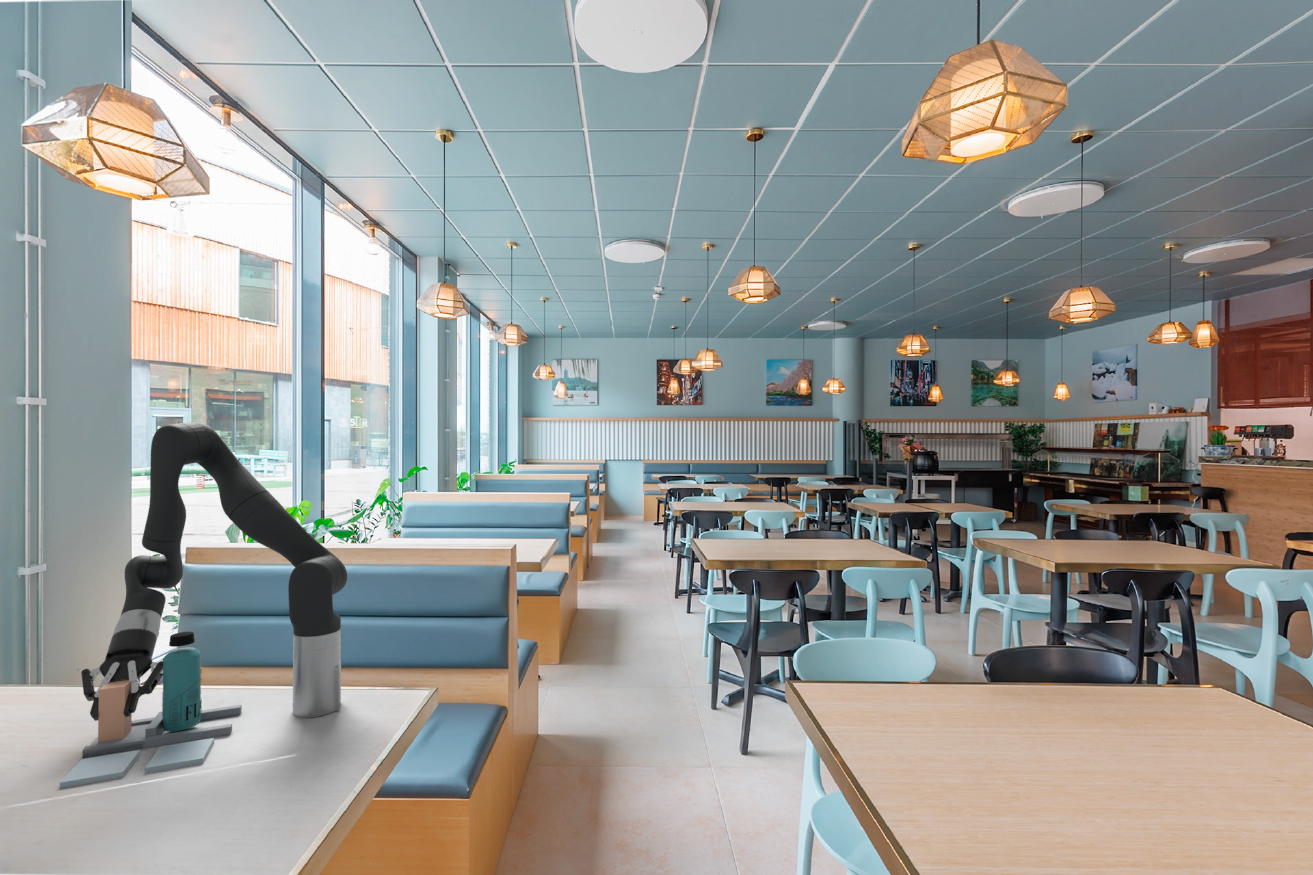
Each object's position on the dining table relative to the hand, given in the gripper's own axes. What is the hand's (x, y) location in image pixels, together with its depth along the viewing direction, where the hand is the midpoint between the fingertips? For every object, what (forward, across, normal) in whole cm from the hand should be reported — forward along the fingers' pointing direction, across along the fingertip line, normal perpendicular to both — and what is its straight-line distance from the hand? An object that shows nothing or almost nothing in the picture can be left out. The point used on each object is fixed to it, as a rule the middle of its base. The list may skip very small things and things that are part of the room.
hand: (111, 716), depth 122 cm
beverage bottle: (+3, +11, +6) cm, 12 cm away
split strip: (+12, +8, -4) cm, 15 cm away
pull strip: (+2, +8, +5) cm, 10 cm away
